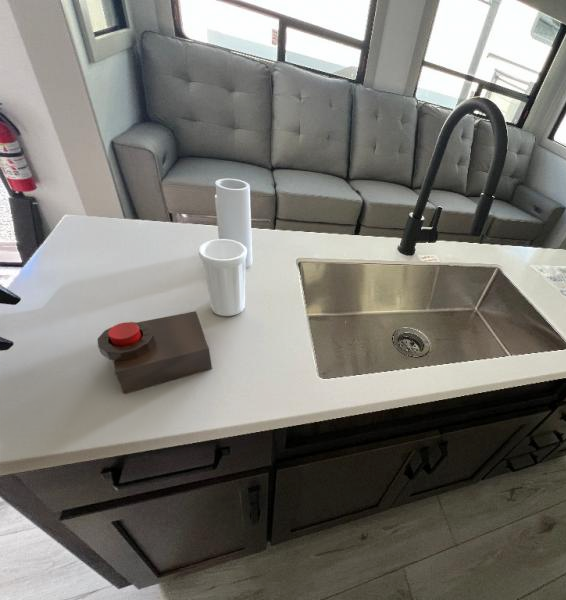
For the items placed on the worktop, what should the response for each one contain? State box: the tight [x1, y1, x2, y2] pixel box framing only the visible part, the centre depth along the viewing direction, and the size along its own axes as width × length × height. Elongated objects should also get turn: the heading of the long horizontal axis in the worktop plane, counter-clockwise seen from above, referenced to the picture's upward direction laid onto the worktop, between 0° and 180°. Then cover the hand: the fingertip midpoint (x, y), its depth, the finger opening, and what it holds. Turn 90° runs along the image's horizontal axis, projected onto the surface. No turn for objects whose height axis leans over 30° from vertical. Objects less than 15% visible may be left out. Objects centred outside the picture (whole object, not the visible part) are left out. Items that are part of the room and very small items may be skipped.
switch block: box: [97, 311, 213, 395], centre depth 54 cm, size 13×10×7 cm
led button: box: [108, 321, 141, 347], centre depth 50 cm, size 4×4×2 cm
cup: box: [198, 238, 247, 317], centre depth 65 cm, size 8×8×14 cm
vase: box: [214, 177, 253, 269], centre depth 78 cm, size 11×7×20 cm, turn 24°
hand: (15, 322), depth 41 cm, fingers open, 8 cm apart
